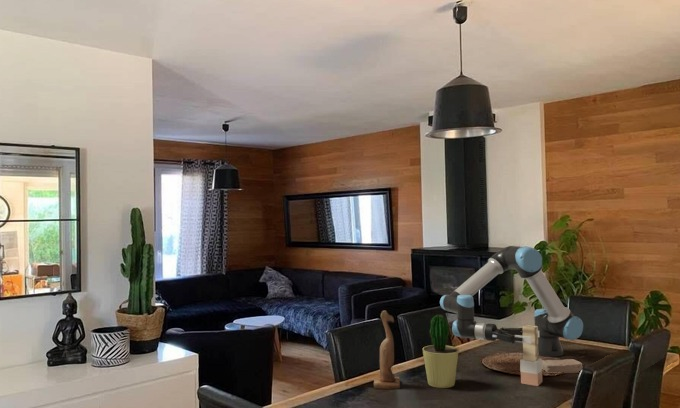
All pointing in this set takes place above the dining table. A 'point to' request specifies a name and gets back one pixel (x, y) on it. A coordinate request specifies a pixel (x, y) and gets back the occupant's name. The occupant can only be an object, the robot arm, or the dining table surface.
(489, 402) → the dining table surface
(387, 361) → the bird sculpture
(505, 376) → the dining table surface
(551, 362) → the brick
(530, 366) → the tower top
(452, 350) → the potted cactus
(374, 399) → the dining table surface
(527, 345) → the oak pillar
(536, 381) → the tower base
